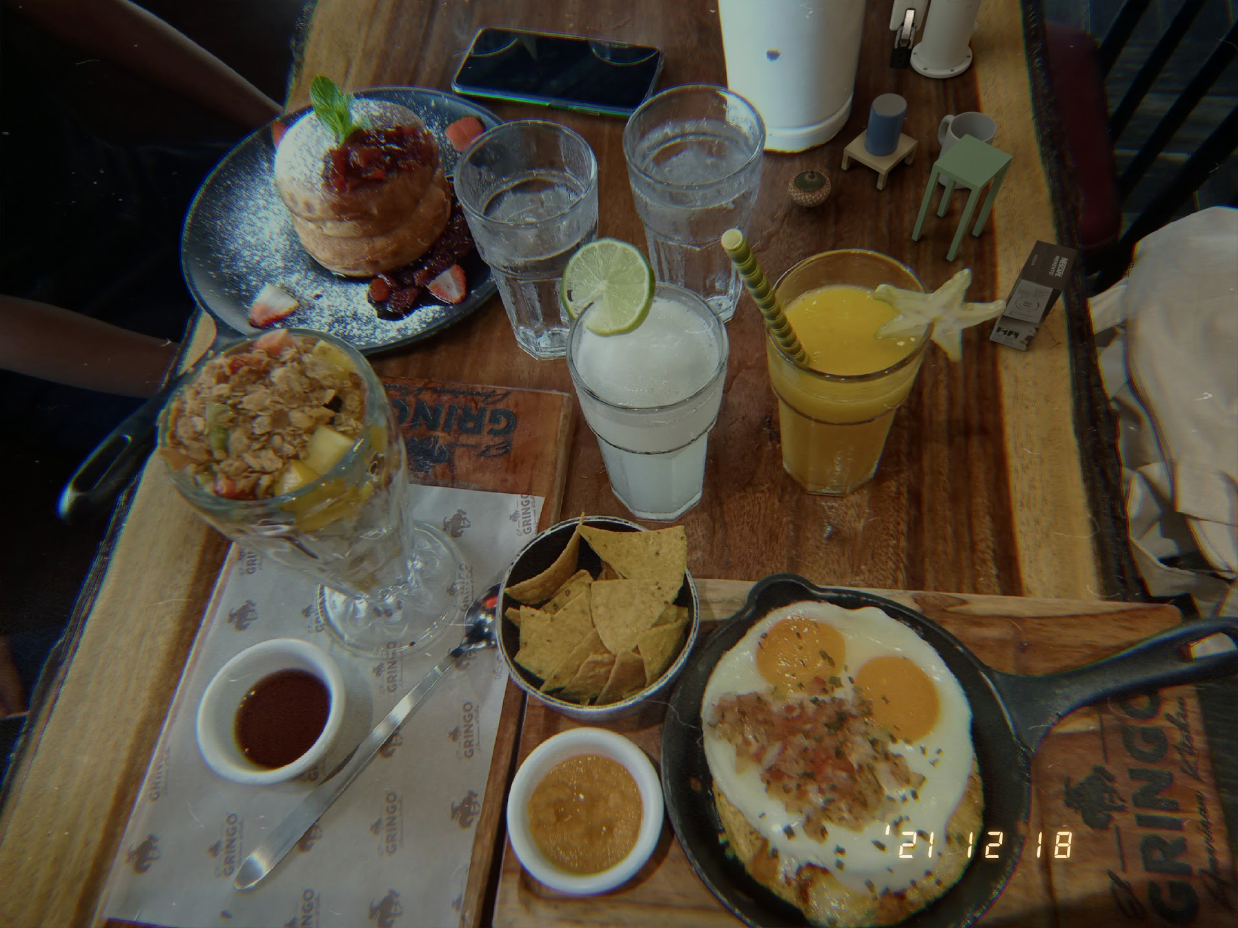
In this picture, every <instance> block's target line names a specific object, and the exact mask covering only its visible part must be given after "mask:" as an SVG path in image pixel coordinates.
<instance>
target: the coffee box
mask: <svg viewBox="0 0 1238 928" xmlns="http://www.w3.org/2000/svg"><path fill="white" fill-rule="evenodd" d="M1078 252H1079V251H1078V250H1077V249H1075V248H1071V247H1067V246H1063V245H1059V244H1055V243H1051V242H1050V243H1049V242H1047V241H1042V240H1040V239H1036V241H1035V243H1034V244H1033V247H1032V248H1031V250H1030V252H1029V254H1028V256H1027V258H1026V260H1025V262H1024V264H1023V266H1022V268H1021V270H1020V271H1019V274H1018V276H1017V278H1016V279H1015V282H1014V284H1013V286H1012V288H1011V290H1010V291H1009V294H1008V296H1007V297H1006V300H1005V301H1006V309H1005V310H1004V312H1003V313H1002V314H1001V315H1000V314H999V315H1000V316H999V315H998V318H997V320H996V322H995V324H994V326H993V329H992V332H991V335H990V336H989V341H992V342H995V343H998V344H1001V345H1004V346H1007V347H1011V348H1014V349H1016V350H1019V351H1023V352H1025V351H1026V350H1027V349H1028V347H1029V346H1030V345H1031V344H1032V343H1031V342H1032V341H1033V340H1034V338H1035V336H1036V335H1037V333H1038V331H1039V330H1040V328H1041V327H1042V325H1043V323H1044V322H1045V320H1046V319H1047V317H1048V315H1049V314H1050V312H1051V311H1052V310H1053V307H1054V306H1055V305H1056V303H1057V301H1059V300H1058V299H1059V298H1060V296H1061V295H1062V293H1063V292H1064V291H1065V288H1066V286H1067V282H1068V280H1069V277H1070V275H1071V271H1072V268H1073V266H1074V262H1075V260H1076V258H1077V255H1078Z"/></svg>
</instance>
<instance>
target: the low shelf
mask: <svg viewBox="0 0 1238 928" xmlns="http://www.w3.org/2000/svg"><path fill="white" fill-rule="evenodd" d="M866 132H867V128H866V129H865V130H863V131H862V132H861V133H860V134H859V135H858V136H856V138H854V139H853V140H852V141H851V142H850V143H849V144H847V145H846V146H845V147H844V149H843V155H842V162H841V167H840V169H842V170H844V171H847V170H848V169H849V168H850V166H851V162H852V159H854V160H855V161H857V162H858V163H859V162H860V163H861V164H863V165H864V166H867V167H869V168H870V169H872V170H874V171H876V172H878V173H879V174H878V178H877V183H876V188H877V189H878V190H880V191H882V190H883V189H885V187H886V184H887V180H888V175H889V172H890V171H891V170H893V169H894V168H895V167H896V166H897V165H898V164H899V163H900V162H901V161H902V160H903V159H904V163H905V164H907V165H911V164H912V163H913V162H914V158H915V155H916V151H917V148H918V144H919V141H918V140H916V139H915V138H912V137H911V136H910V135H909V136H908V135H907V134H904V133H903V132H901V135H900V139H899V143H898V147H897V149H896V150H895V151H894V152H893V153H892V154H890V155H887V156H875V155H872V154H870V153H868V152H867V151H866V149H865V147H864V142H865V137H866Z"/></svg>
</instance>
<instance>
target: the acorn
mask: <svg viewBox="0 0 1238 928" xmlns="http://www.w3.org/2000/svg"><path fill="white" fill-rule="evenodd" d="M831 183H832V182H831V180H830V178H829V177H828V176H827V175H826V174H825V173H823V172H821V171H819V170H815V169H811V170H809V169H808V170H807V169H806V170H802V171H798V172H796V173H795V174H794V175H793V176H792V177H791V178H790V180H789V181H788V185H787V194H788V196H789V198H790V199H791V200H792V201H793V202H794V204H796V205H798V206H799V207H803V212H807V211H809V210H810V209H811V208H813V207H817V206H818V205H821V204H822V203H823V202H825V201H826V200H827V198H828V197H829V195H830V194H831V191H832V184H831Z"/></svg>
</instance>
